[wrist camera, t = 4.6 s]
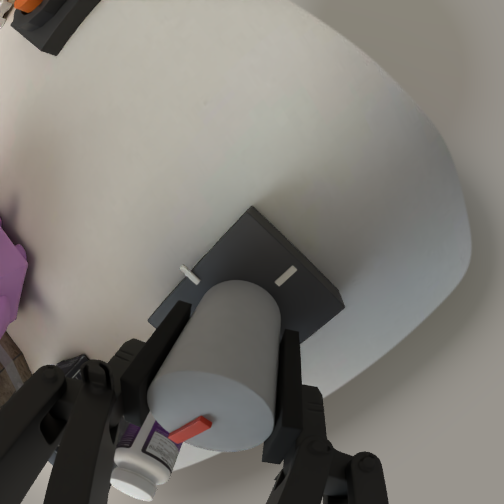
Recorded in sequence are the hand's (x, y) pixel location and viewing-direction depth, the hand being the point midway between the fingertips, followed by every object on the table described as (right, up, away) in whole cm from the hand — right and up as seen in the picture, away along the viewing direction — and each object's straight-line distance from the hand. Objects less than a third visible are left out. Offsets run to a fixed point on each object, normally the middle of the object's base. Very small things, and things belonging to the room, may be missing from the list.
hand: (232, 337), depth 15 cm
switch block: (-17, +28, -1) cm, 32 cm away
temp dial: (0, +1, +2) cm, 2 cm away
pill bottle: (-8, -12, +10) cm, 17 cm away
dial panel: (+1, +1, +5) cm, 5 cm away
